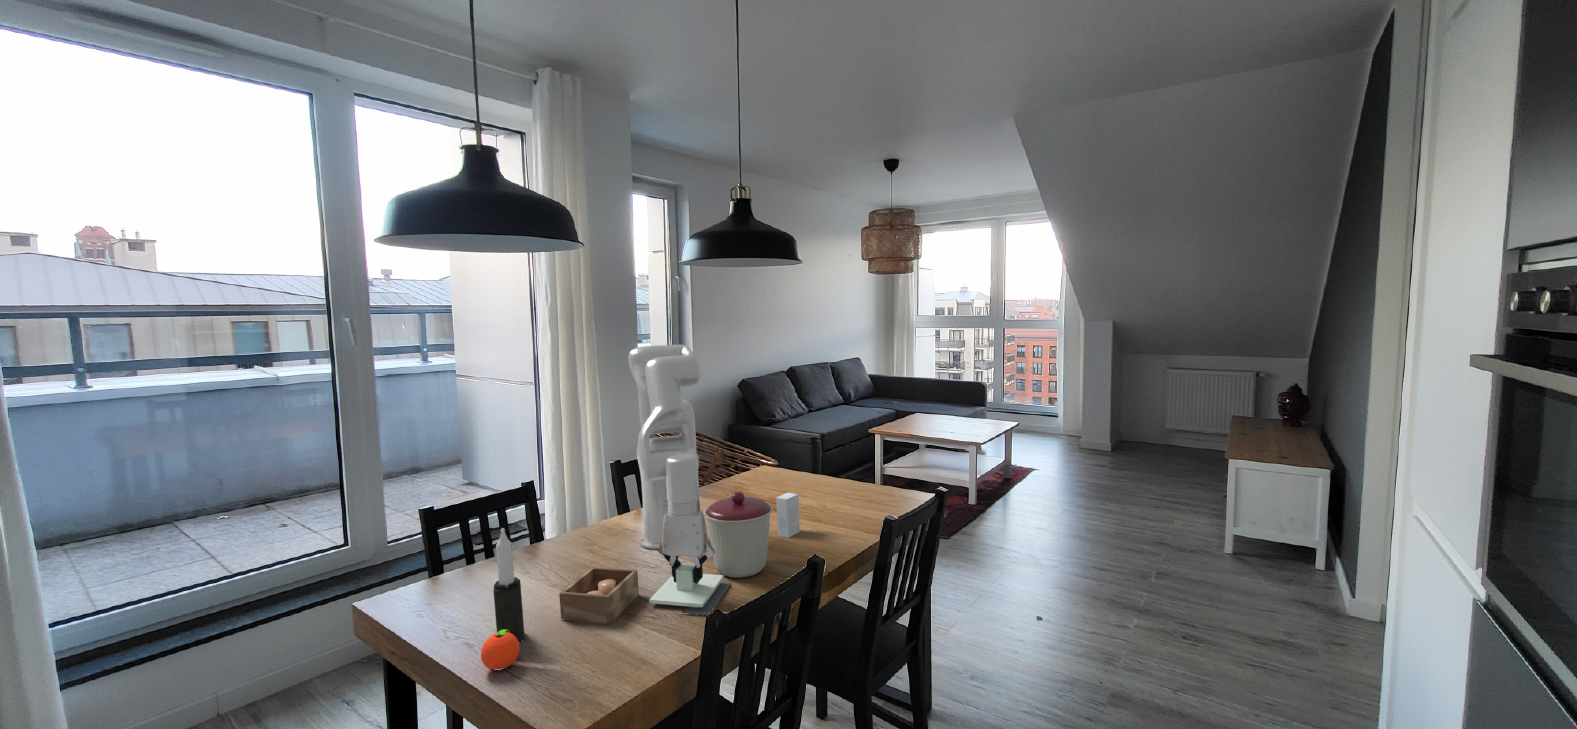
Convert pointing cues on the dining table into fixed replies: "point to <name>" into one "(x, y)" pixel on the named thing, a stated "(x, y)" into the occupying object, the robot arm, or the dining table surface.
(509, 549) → the candle
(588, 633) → the dining table surface
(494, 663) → the clementine
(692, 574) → the lid
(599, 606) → the box
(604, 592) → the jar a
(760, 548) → the canister
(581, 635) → the dining table surface
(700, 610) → the trivet
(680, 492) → the robot arm
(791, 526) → the skincare box
